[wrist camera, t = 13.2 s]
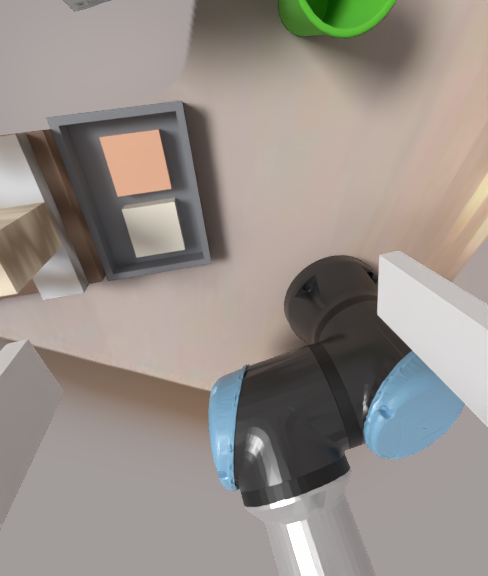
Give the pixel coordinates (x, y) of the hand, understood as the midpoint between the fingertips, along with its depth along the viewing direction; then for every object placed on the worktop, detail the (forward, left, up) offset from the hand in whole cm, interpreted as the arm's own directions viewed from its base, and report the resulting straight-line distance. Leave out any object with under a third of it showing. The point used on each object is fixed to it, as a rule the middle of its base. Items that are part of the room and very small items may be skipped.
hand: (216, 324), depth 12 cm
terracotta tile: (+3, +6, -27) cm, 28 cm away
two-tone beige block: (-1, +17, -25) cm, 30 cm away
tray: (-1, +6, -30) cm, 30 cm away
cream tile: (-5, +6, -27) cm, 28 cm away
